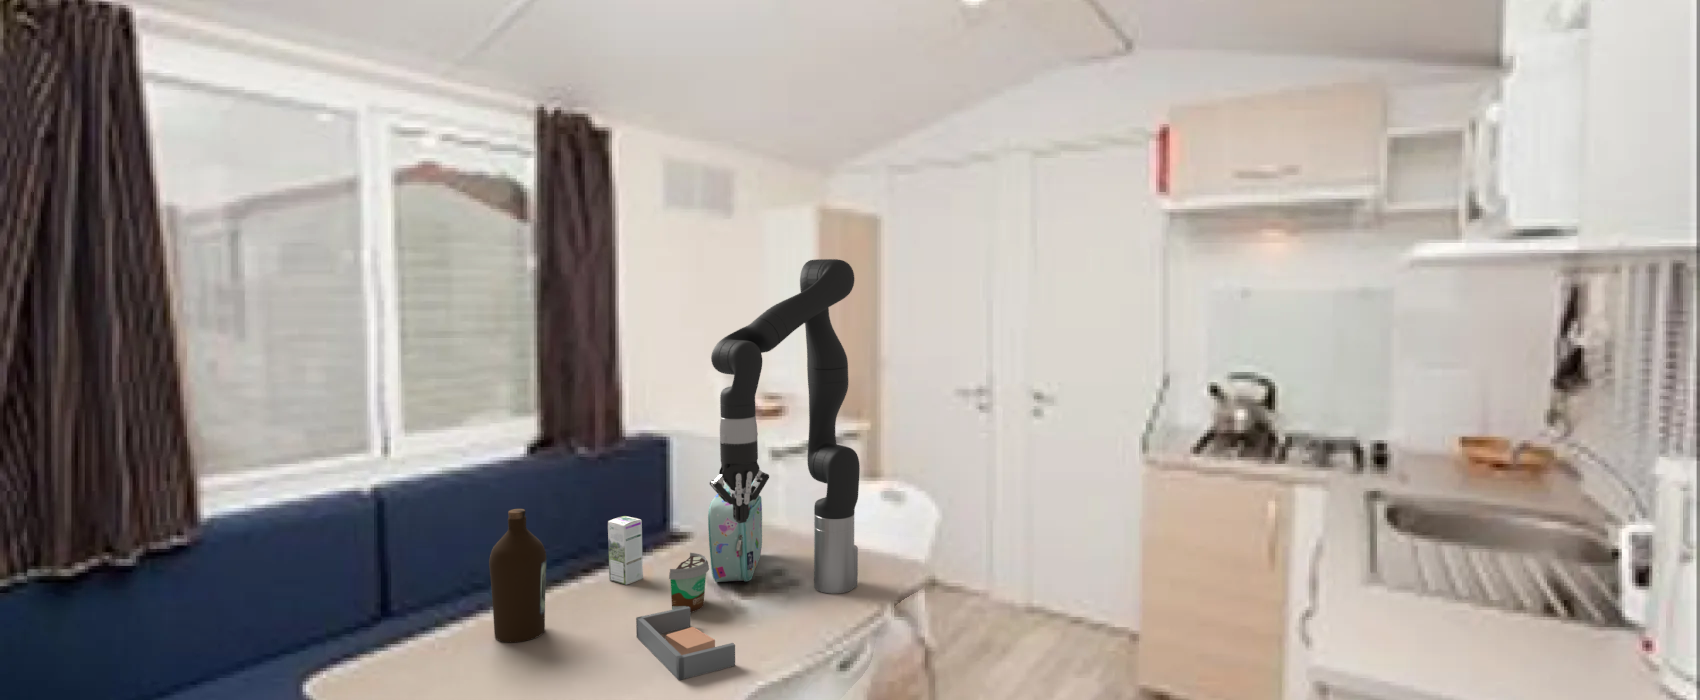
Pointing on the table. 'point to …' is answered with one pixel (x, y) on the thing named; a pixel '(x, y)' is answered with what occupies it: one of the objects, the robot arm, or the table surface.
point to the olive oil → (518, 582)
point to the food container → (689, 583)
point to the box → (669, 656)
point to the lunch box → (734, 540)
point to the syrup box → (625, 550)
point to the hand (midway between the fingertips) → (740, 521)
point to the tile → (690, 640)
